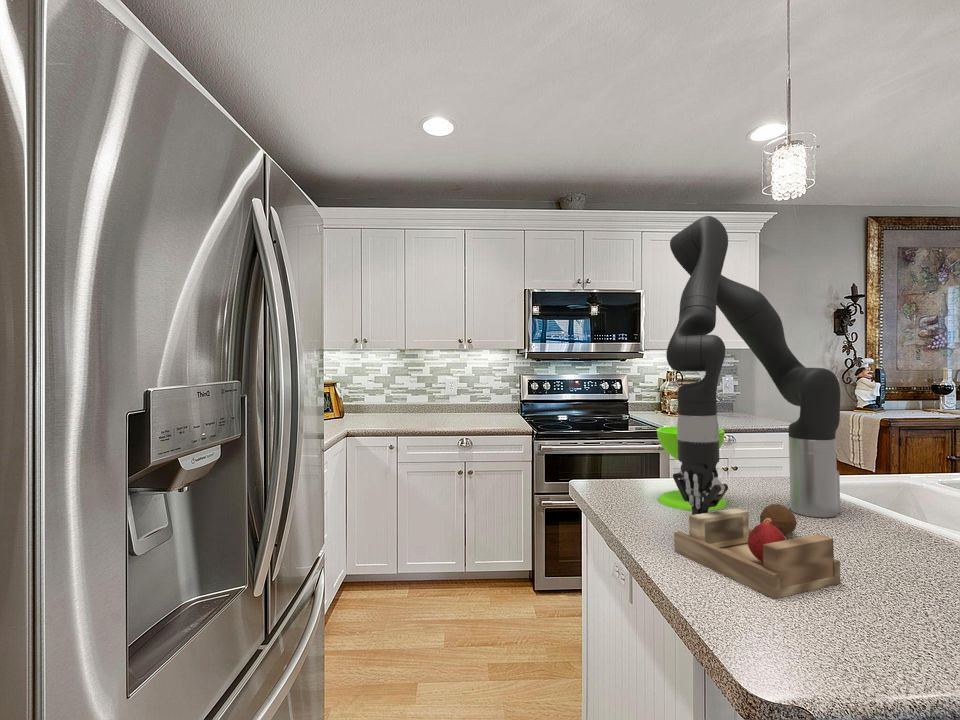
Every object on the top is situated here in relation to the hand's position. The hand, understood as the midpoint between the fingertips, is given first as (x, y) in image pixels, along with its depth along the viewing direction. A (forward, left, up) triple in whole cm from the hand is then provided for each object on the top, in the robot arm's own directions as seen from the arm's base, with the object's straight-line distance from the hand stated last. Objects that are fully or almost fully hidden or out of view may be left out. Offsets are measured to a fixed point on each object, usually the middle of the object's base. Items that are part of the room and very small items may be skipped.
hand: (700, 526), depth 104 cm
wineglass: (-20, -25, -4) cm, 32 cm away
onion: (0, +15, -2) cm, 16 cm away
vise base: (0, +12, -4) cm, 12 cm away
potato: (-18, +2, -4) cm, 19 cm away
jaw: (0, +5, -2) cm, 5 cm away
